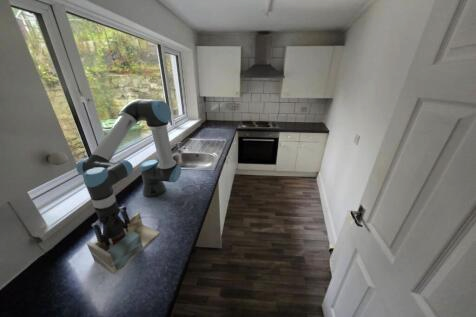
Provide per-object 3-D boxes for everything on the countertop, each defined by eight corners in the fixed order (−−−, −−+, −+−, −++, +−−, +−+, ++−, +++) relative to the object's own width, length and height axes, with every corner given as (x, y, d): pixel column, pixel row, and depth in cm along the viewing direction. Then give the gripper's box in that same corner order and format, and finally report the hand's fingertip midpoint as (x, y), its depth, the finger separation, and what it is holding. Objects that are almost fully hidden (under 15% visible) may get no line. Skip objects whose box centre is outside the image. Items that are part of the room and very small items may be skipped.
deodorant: (130, 243, 86) (123, 220, 80) (120, 254, 81) (111, 230, 75) (121, 240, 87) (113, 217, 81) (110, 250, 82) (100, 226, 76)
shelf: (141, 224, 99) (137, 209, 95) (159, 233, 94) (156, 217, 89) (94, 260, 79) (86, 243, 75) (114, 274, 74) (107, 256, 69)
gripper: (121, 189, 83) (132, 226, 92) (73, 214, 67) (92, 256, 77) (132, 193, 80) (142, 231, 89) (84, 221, 64) (103, 263, 74)
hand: (119, 242), depth 83 cm, fingers closed on deodorant, 6 cm apart
